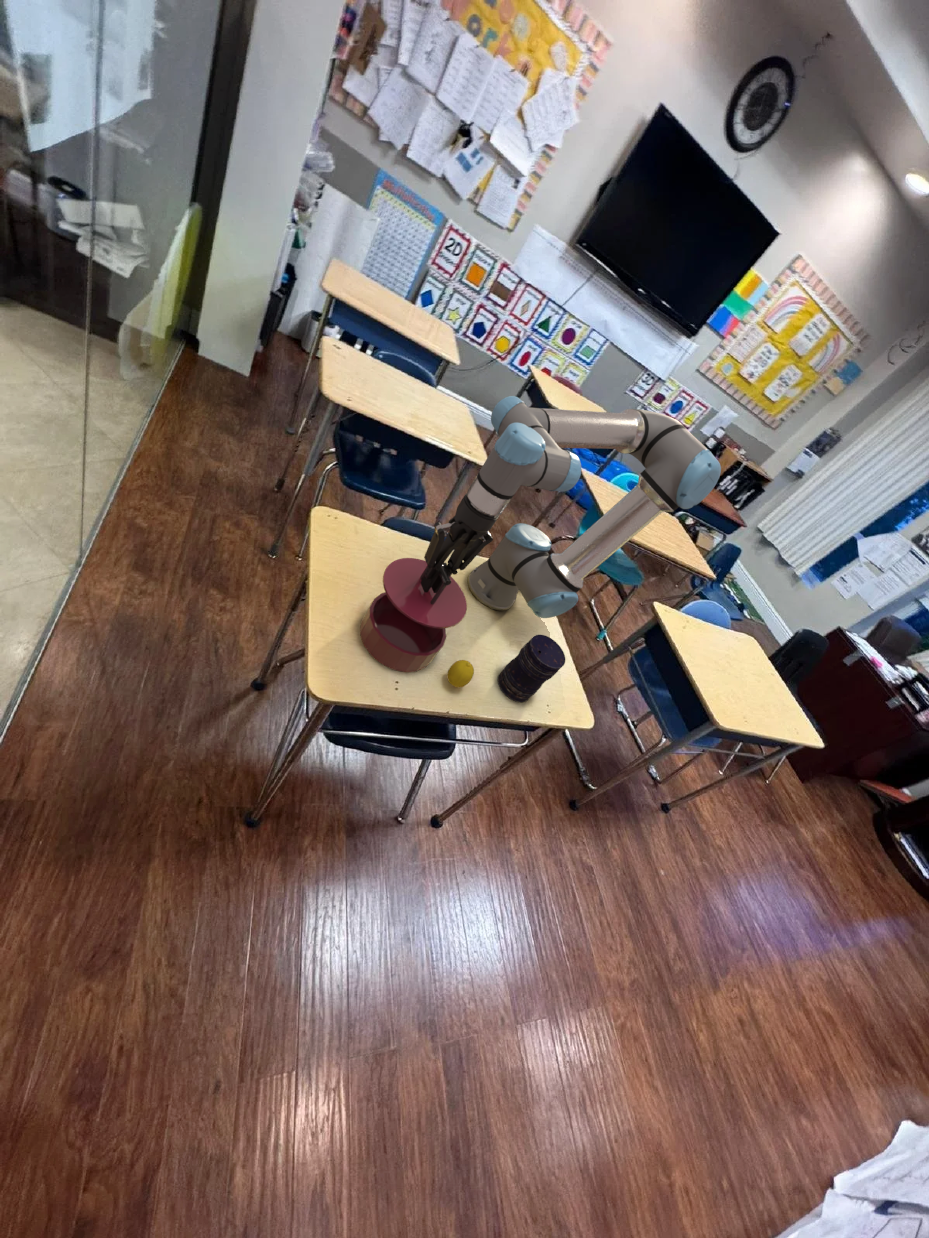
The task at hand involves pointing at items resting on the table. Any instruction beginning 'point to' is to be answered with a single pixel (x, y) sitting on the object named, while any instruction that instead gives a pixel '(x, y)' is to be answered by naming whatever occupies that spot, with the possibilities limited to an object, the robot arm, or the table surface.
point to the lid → (423, 594)
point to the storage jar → (531, 668)
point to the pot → (398, 637)
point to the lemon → (460, 673)
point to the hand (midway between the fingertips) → (428, 587)
